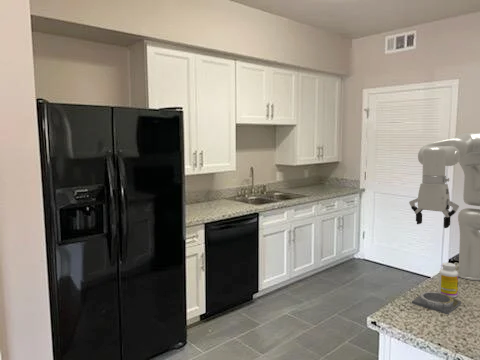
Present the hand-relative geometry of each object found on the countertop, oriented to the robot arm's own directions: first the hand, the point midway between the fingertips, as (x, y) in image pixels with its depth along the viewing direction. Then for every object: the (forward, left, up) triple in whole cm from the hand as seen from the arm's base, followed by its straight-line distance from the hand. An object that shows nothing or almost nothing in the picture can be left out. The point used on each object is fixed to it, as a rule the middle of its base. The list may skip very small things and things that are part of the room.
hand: (432, 225), depth 137 cm
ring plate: (-3, +1, -31) cm, 31 cm away
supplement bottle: (-15, +1, -31) cm, 35 cm away
